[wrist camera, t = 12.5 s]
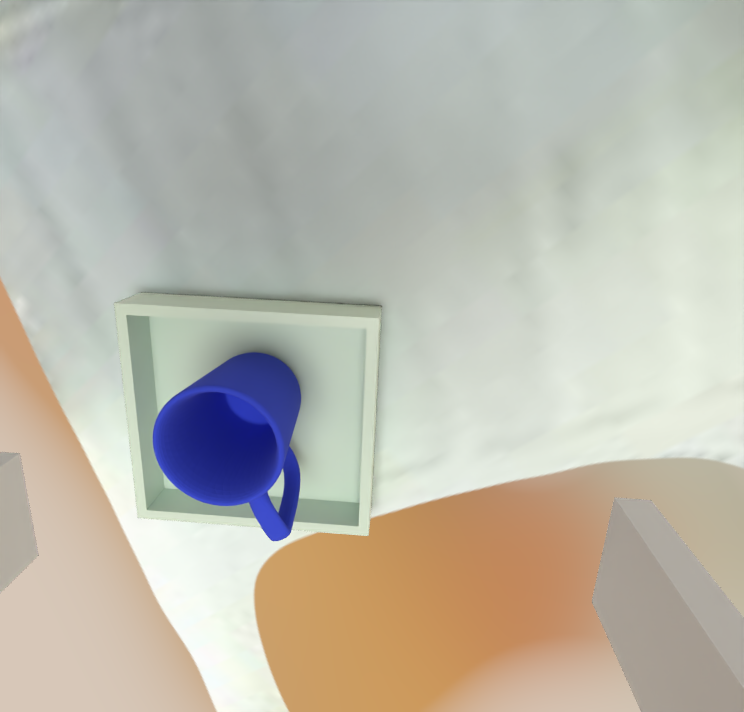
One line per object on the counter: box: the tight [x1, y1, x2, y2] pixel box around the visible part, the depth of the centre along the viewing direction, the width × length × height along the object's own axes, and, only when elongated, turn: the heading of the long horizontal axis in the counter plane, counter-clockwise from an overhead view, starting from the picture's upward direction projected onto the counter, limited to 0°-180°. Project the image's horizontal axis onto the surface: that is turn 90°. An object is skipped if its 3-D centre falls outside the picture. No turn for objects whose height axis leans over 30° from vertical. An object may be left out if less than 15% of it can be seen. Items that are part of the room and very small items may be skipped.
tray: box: [114, 292, 382, 536], centre depth 40 cm, size 18×19×4 cm
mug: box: [153, 352, 301, 541], centre depth 37 cm, size 8×12×10 cm
